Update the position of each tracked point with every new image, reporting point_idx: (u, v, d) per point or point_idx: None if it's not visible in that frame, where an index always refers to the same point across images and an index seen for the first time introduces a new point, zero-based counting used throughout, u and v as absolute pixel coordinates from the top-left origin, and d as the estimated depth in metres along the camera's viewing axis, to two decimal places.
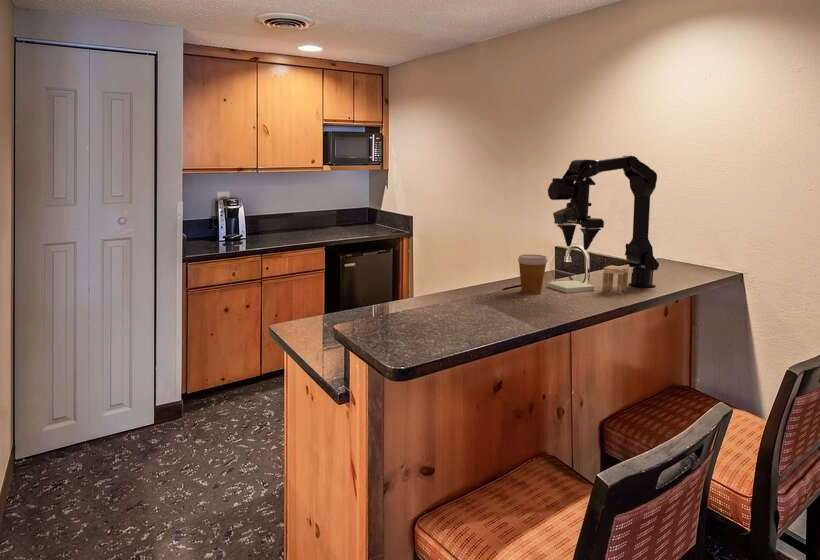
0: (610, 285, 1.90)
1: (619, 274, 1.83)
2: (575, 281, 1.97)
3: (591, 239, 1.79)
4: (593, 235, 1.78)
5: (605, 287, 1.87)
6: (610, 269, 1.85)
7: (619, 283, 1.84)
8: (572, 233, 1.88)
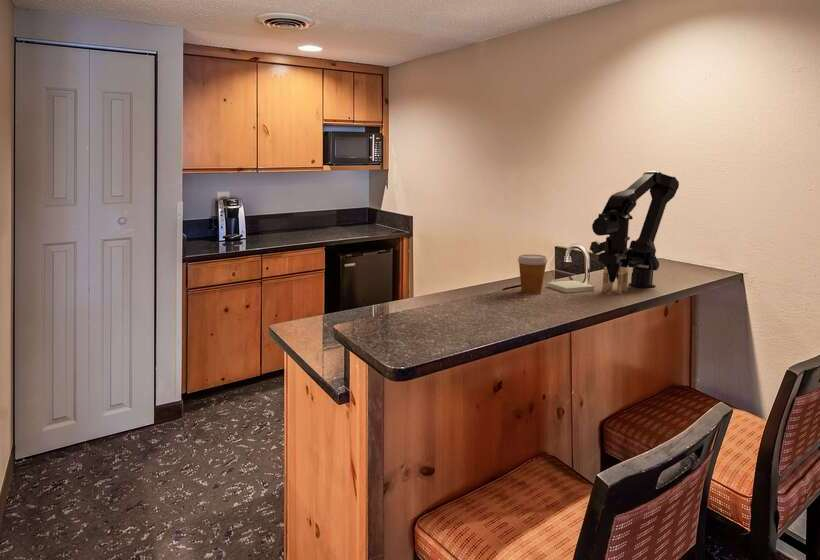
0: (610, 285, 1.90)
1: (619, 274, 1.83)
2: (575, 281, 1.97)
3: (614, 272, 1.83)
4: (615, 269, 1.82)
5: (605, 287, 1.87)
6: None
7: (619, 283, 1.84)
8: None
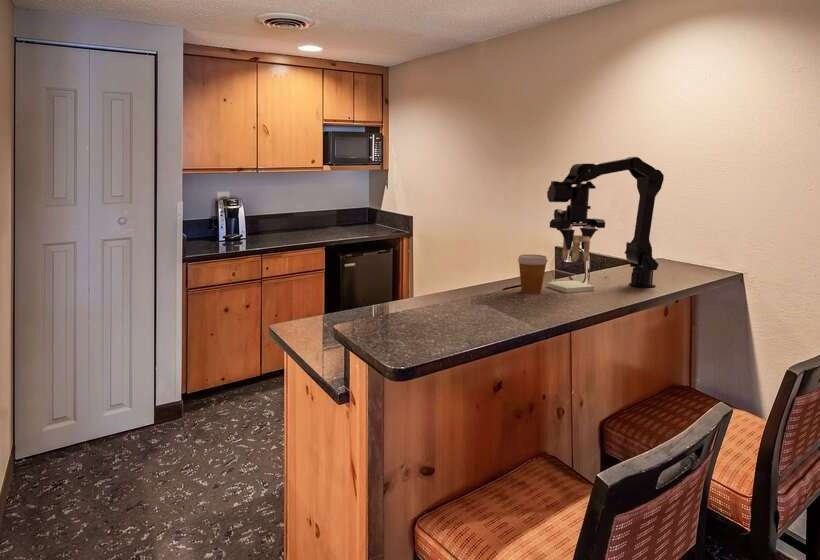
0: None
1: (573, 242, 1.86)
2: (575, 281, 1.97)
3: (568, 240, 1.86)
4: (568, 236, 1.85)
5: (564, 255, 1.90)
6: None
7: (573, 251, 1.86)
8: None
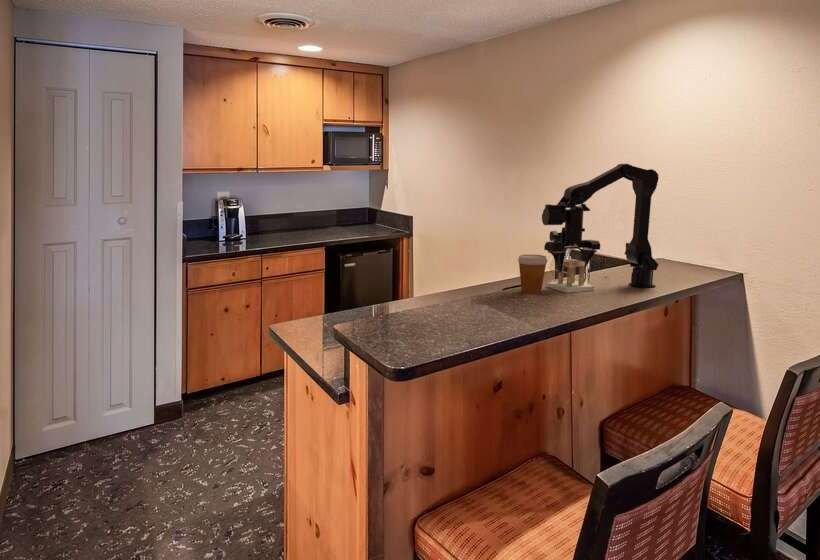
0: None
1: (568, 267, 1.88)
2: (575, 281, 1.97)
3: (558, 262, 1.88)
4: (559, 259, 1.87)
5: (560, 279, 1.93)
6: (563, 262, 1.90)
7: (568, 276, 1.88)
8: (586, 258, 1.91)
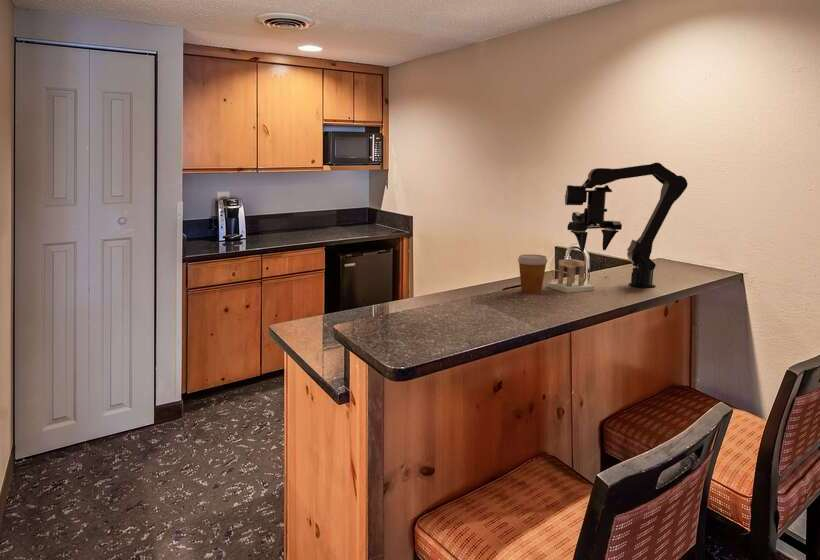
0: None
1: (568, 267, 1.88)
2: (575, 281, 1.97)
3: (581, 242, 1.93)
4: (581, 238, 1.92)
5: (560, 279, 1.93)
6: (563, 262, 1.90)
7: (568, 276, 1.88)
8: (608, 238, 1.96)
